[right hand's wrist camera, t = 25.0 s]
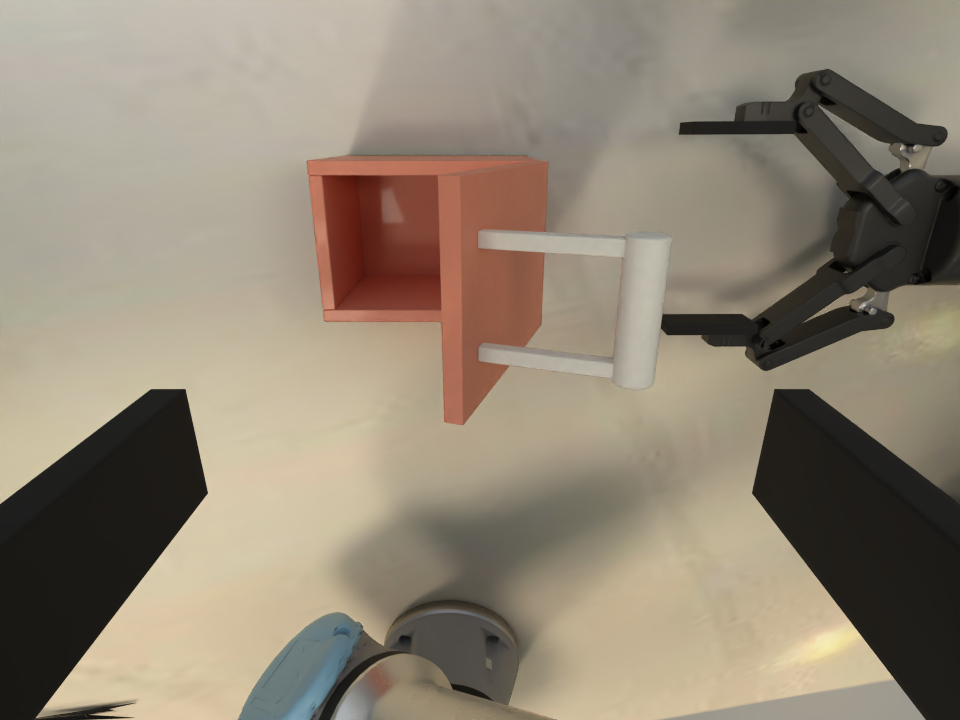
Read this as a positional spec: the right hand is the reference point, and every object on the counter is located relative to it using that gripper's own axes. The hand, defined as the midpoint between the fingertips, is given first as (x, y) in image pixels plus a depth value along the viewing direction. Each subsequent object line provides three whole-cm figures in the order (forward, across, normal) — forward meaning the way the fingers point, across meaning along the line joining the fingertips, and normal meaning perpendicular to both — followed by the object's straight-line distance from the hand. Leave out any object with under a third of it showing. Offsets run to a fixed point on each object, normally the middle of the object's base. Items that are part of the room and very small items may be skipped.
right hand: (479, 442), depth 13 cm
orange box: (+17, -1, 0) cm, 17 cm away
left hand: (+29, -14, 0) cm, 32 cm away
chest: (+36, +3, 0) cm, 36 cm away
